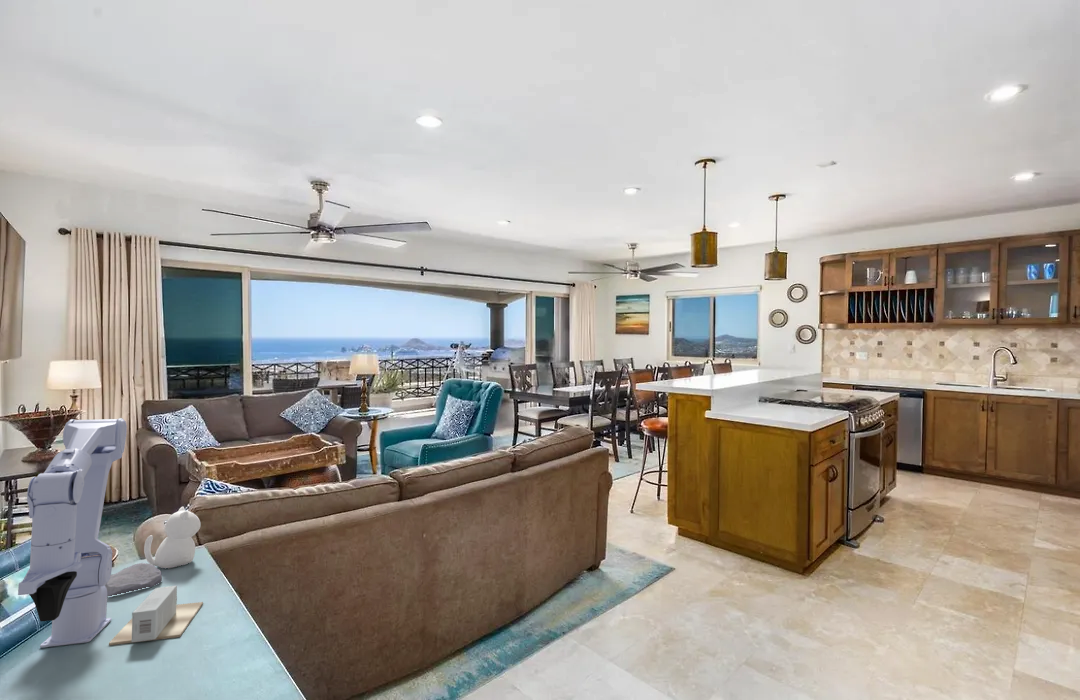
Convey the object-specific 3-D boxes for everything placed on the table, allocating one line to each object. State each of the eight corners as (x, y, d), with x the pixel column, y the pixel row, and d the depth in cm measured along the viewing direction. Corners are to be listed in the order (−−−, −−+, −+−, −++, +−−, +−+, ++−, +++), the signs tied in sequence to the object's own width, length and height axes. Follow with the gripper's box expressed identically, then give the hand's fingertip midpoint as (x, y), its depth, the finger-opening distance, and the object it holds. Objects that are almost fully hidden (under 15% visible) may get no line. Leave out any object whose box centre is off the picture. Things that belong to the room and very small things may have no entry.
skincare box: (129, 643, 102) (154, 615, 113) (155, 639, 103) (177, 612, 114) (131, 611, 102) (155, 587, 113) (156, 608, 103) (178, 585, 114)
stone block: (166, 589, 131) (143, 574, 135) (168, 571, 131) (146, 557, 135) (111, 611, 120) (88, 593, 124) (113, 591, 120) (90, 574, 124)
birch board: (141, 610, 116) (141, 608, 116) (202, 604, 119) (203, 601, 119) (108, 645, 102) (108, 642, 102) (179, 637, 105) (180, 634, 105)
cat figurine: (201, 564, 142) (205, 509, 143) (144, 576, 134) (148, 517, 135) (195, 555, 149) (198, 503, 150) (140, 565, 140) (144, 509, 141)
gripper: (57, 553, 86) (53, 636, 85) (101, 526, 99) (98, 598, 99) (3, 557, 83) (-1, 642, 83) (56, 529, 97) (52, 602, 97)
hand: (49, 619), depth 91 cm, fingers closed
